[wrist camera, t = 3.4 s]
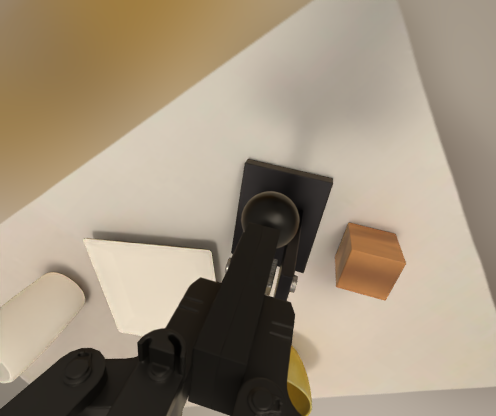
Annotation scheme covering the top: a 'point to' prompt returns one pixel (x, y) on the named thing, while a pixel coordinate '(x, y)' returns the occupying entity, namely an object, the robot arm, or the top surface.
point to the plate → (146, 280)
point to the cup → (35, 321)
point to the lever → (272, 220)
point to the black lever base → (309, 209)
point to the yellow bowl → (298, 385)
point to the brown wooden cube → (368, 261)
